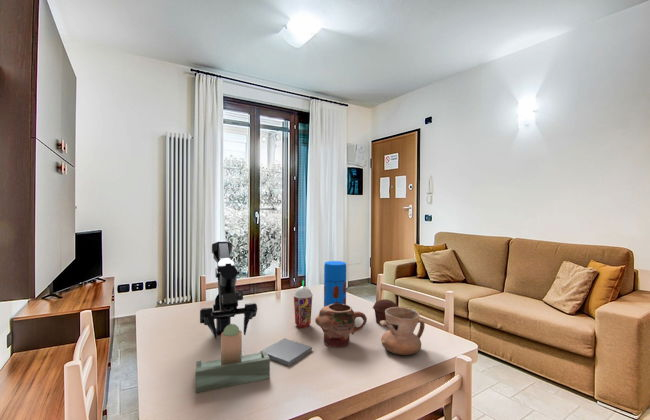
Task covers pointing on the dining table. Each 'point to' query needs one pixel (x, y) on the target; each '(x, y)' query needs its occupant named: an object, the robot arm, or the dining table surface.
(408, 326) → the ceramic jug
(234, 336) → the green ice cream cone
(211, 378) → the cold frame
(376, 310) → the muffin
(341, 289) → the thermos
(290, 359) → the slate pad
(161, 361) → the dining table surface
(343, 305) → the decorative planter
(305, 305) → the smoothie
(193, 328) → the dining table surface
